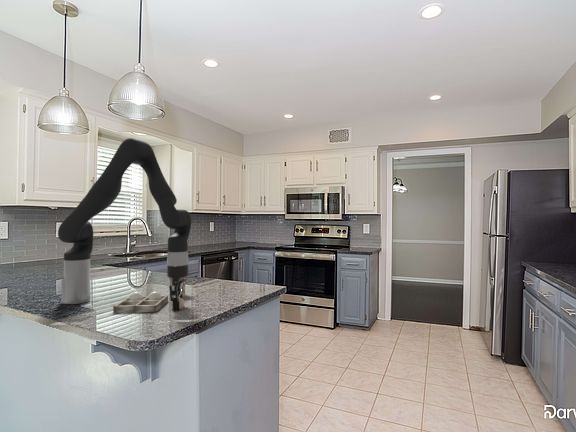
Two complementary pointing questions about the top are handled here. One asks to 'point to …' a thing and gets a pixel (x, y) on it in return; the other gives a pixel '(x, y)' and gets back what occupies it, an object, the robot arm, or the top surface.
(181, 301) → the beige ball
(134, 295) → the white egg back left
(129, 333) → the top surface
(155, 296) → the white egg back right
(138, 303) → the divided tray
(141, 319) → the top surface
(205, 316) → the top surface
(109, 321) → the top surface
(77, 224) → the robot arm
